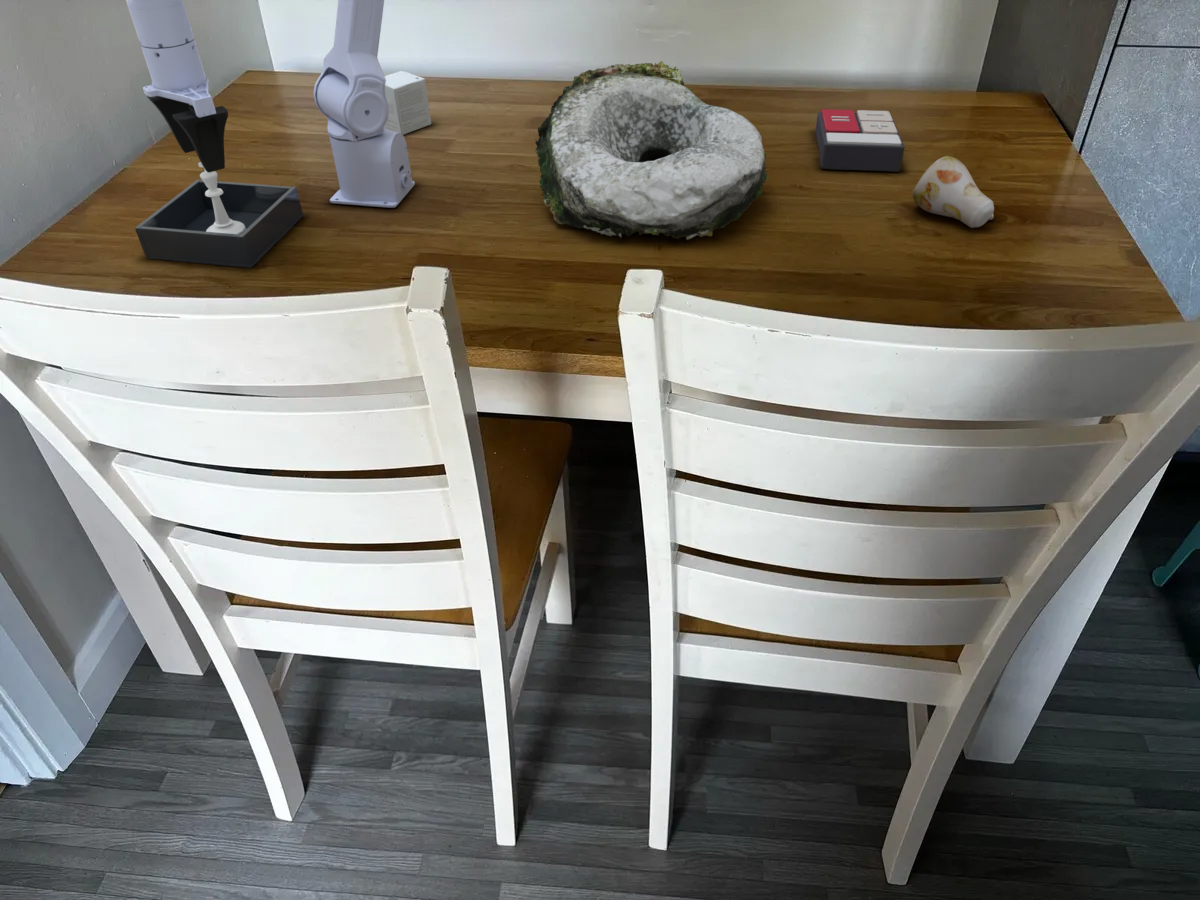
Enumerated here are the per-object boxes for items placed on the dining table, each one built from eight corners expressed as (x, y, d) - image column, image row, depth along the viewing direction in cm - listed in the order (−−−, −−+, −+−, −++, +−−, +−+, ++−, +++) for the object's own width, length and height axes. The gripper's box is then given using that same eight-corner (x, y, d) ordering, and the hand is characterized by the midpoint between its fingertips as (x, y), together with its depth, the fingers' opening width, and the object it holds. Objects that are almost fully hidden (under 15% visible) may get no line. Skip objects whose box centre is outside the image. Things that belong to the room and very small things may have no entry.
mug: (975, 243, 112) (950, 168, 108) (918, 245, 120) (893, 176, 117) (1016, 213, 114) (992, 138, 110) (957, 217, 122) (934, 148, 119)
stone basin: (641, 88, 134) (666, -2, 121) (781, 221, 127) (823, 141, 114) (484, 164, 122) (493, 73, 108) (629, 316, 114) (657, 238, 101)
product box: (409, 116, 148) (402, 69, 143) (432, 125, 144) (426, 78, 139) (378, 126, 144) (370, 79, 139) (401, 136, 141) (393, 88, 136)
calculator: (892, 108, 137) (906, 141, 125) (887, 137, 139) (900, 172, 127) (818, 106, 138) (825, 138, 126) (814, 134, 140) (821, 169, 128)
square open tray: (303, 216, 120) (296, 186, 117) (251, 268, 109) (242, 237, 107) (206, 208, 122) (196, 179, 120) (146, 258, 112) (134, 227, 109)
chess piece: (234, 244, 113) (211, 167, 107) (199, 241, 114) (173, 165, 108) (253, 227, 117) (232, 151, 111) (219, 224, 118) (195, 149, 111)
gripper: (110, 33, 103) (150, 150, 112) (152, 64, 94) (192, 188, 103) (172, 21, 106) (206, 136, 115) (218, 50, 98) (251, 171, 106)
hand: (203, 159), depth 109 cm, fingers open, 7 cm apart
